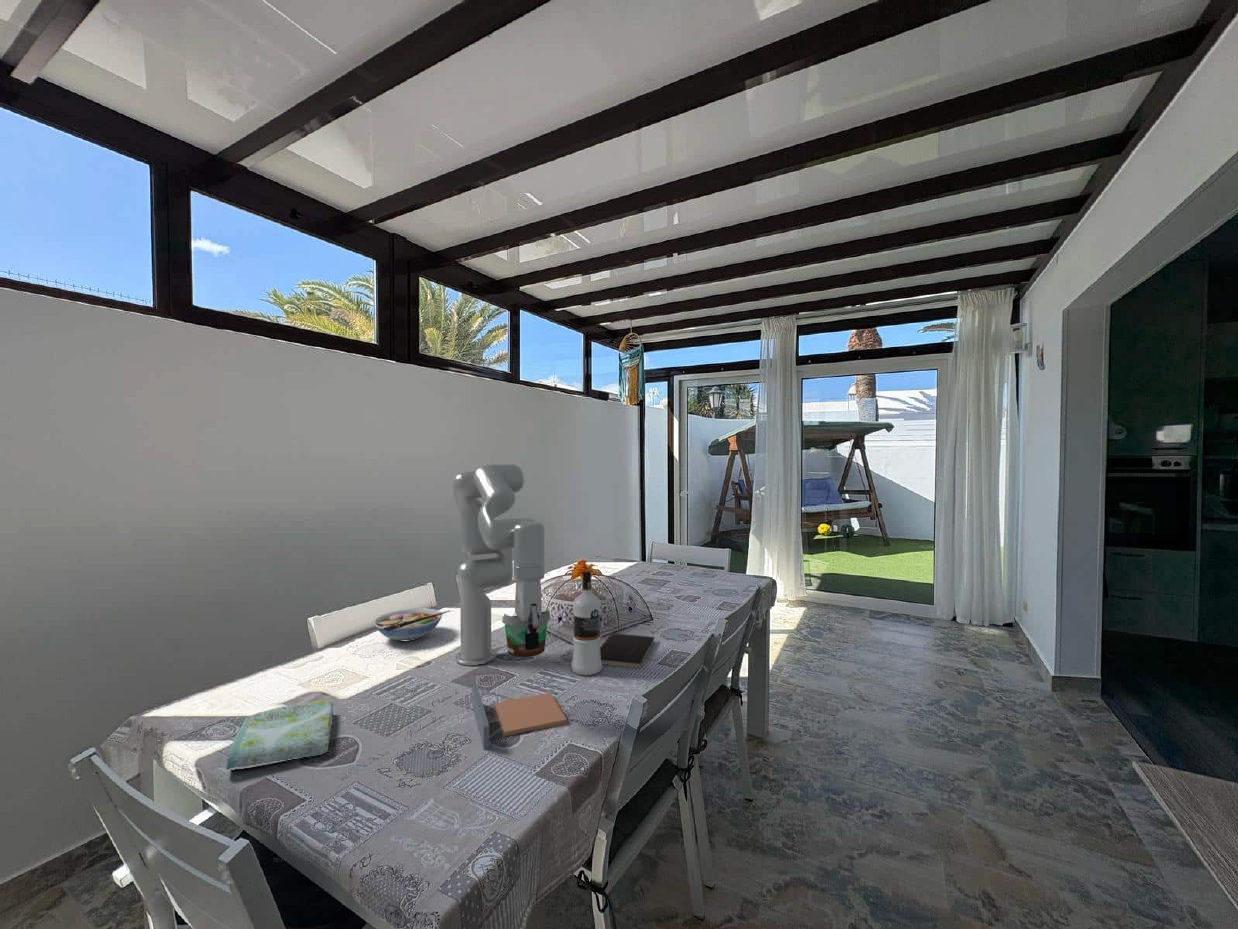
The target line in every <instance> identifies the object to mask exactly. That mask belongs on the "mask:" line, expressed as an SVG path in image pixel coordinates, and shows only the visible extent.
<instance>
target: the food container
mask: <svg viewBox="0 0 1238 929" xmlns="http://www.w3.org/2000/svg"><path fill="white" fill-rule="evenodd" d="M538 616H539V615H538ZM528 620H532V618H531V617H528ZM550 620H551V613H550V610H549V608H548V607H546V611H542V614H541V619H540V620H538V630H539V631H538V632H539V647H538V648H535V649H528V650H527V649H526V648H525V633H527V632H526V626H527V622H526V621H527V620H526V621H524V622H522V621H521V620H520V617H518V616H517V614H515V615H507V614H506V613H503V616H502V620H501V622H502V623H503V624H504V628H505V638H506V647H507V649H506V650H507V653H508V655H510V656H512V657H516V658H530V657H535V656H539V655H541V654H543V653H544V652H545V650H546V640H547V631H548V629H547V628H548V622H549V621H550ZM530 624H532V622H529V626H530Z"/></svg>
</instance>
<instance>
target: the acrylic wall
mask: <svg viewBox="0 0 1238 929" xmlns="http://www.w3.org/2000/svg"><path fill="white" fill-rule="evenodd" d="M478 686H479V685H477V684H473V685H471V687H472V688H471V690H472V691H471V692H472V693H471V695H472V696H471V704H472V708H473V712H474V716H475V721H476V724H477V727H478V731H479V732H480V733H479V732H478V733H479V736H481V737H480V740H482V741H481V743H482V747H483V750H486V749H490V723H489V721H488V717H487V714H486V711H485V707H484V704H483V701H482V696H481V693H480V691H479V687H478Z"/></svg>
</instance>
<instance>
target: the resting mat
mask: <svg viewBox="0 0 1238 929" xmlns="http://www.w3.org/2000/svg"><path fill="white" fill-rule="evenodd" d="M493 707H494V710H495V713H496V716H497V719H498V722H499V725H500V728H501V730H502V734H503V737H508V736H513V735H518V734H522V732H523V733H528V732H532V731H536V730H537V731H538V730H541V729H547V728H552V727H556V726H557V727H558V726H561V725H566V724H567V723H568V722H567V718H566V716H565V714H564V712H563V711H562V708H561V707H560V706H559V704H558V702H557V701H556V699H555V697H554V696H553V694H552V692H548V693H543V694H542V693H541V694H537V695H530V696H525V697H520V698H515V699H509V700H503V701H498V702H494V703H493Z"/></svg>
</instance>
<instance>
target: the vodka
mask: <svg viewBox="0 0 1238 929" xmlns="http://www.w3.org/2000/svg"><path fill="white" fill-rule="evenodd" d="M601 604H602V603H601V600H600V598H599V597H598V596H596V595H595V594H593V592H592V571H590V570H589V571H587V570H586V571H583V572H582V593H581V594H579V595H578V596H576V597H575V599H574V600H573V603H572V610H573V611H572V614H573V637H572V640H573V649H572V650H573V652H572V659H571V660H572V661H571V670H572V672H573V673H574V674H577V675H578V676H579V675H580V676H593V675H596V674H597V673H599V672H601V670H602V668H603V664H602V660H601V653H600V647H601V639H602V637H601V608H602V607H601V606H602V605H601Z"/></svg>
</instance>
